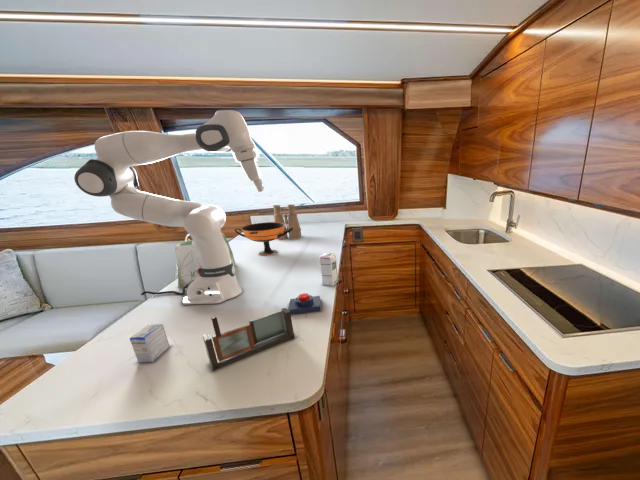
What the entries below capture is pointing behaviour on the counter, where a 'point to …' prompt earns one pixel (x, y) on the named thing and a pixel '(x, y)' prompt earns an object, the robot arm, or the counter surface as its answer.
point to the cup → (264, 234)
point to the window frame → (258, 337)
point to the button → (303, 297)
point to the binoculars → (288, 221)
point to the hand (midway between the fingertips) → (261, 190)
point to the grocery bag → (191, 260)
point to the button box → (304, 305)
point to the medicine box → (149, 342)
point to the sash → (232, 340)
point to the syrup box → (328, 269)
